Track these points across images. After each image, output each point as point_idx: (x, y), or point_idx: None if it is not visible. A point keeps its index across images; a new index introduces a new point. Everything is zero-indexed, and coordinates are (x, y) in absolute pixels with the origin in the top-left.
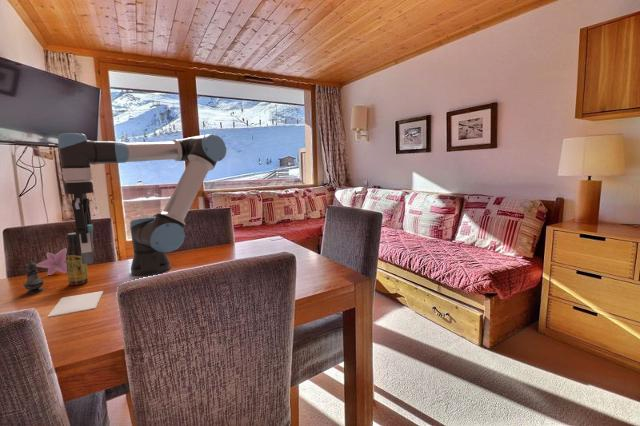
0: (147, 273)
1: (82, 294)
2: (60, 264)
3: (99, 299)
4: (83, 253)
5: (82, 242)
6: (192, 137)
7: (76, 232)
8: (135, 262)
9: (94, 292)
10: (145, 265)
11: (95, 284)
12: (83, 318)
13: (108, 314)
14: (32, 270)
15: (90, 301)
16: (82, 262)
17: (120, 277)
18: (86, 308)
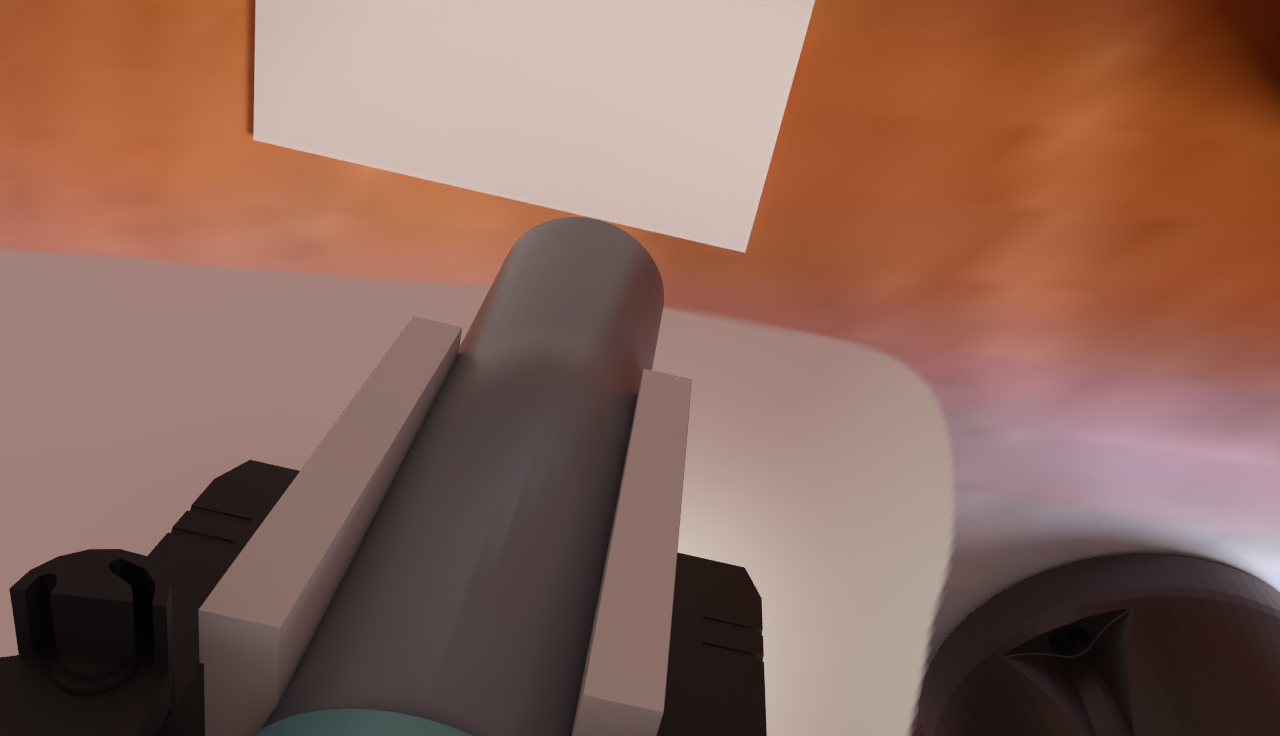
0: (947, 655)
1: (790, 56)
2: None
3: (490, 192)
4: (466, 336)
5: (228, 484)
6: None
7: (16, 606)
8: (1127, 687)
9: (757, 172)
10: (988, 719)
11: (1118, 206)
12: (56, 27)
13: (50, 214)
14: None
15: (472, 114)
16: (535, 235)
17: (1139, 449)
18: (279, 67)
